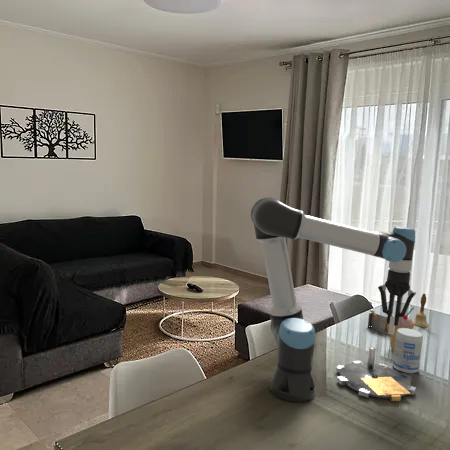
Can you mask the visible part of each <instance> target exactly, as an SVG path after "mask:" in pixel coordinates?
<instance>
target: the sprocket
mask: <svg viewBox="0 0 450 450" xmlns="http://www.w3.org/2000/svg"><path fill="white" fill-rule="evenodd" d="M376 350H377V348H375V347H369V348H368V353H367V362H363V361H361V360H352V362H351V363H348V364H345V365H341V364H339V365H337V366H336V368H335V373H338V374H339V376H337V379H336V381H337V383H338V384H339V385H340V386H346V387H348V388H349V389H351V390H352V391H355V392H357V394H358V396H360V397H364V398H367V399H369V397H372V398H379V399H386V400H387V399H389V401H391V402H401V399H402V398H404V397H406V396H407V395H409V396H410V395H411V396H414V395H415V394H416V393H417V392H416V390H417V387H415V386H413V385H412V384H411V382H412V376H409V375H408V373H401V371H400V372H399V370H397V369H394V368H391V367H390V366H389V365H387V364H385V363H379V364H377V363H375V360H376V359H375V358H376Z"/></svg>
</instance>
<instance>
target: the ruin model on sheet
mask: <svg viewBox="0 0 450 450" xmlns="http://www.w3.org/2000/svg"><path fill="white" fill-rule="evenodd" d="M386 321H387V316H385V315H382V314H379V313H376V312H375V310H371V309H369V313H368V320H367V328H368V327H369V326H372V327H371V329H372V328H373V329H375V330H374V331H376V330H377V331H376V332H378V331H380V332H379V333H381V332H382V334H384V335H388V336H390V334H388V332H389V331H388V329H387V327H388V325H387V323H386ZM369 328H370V327H369ZM373 329H372V330H373Z"/></svg>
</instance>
